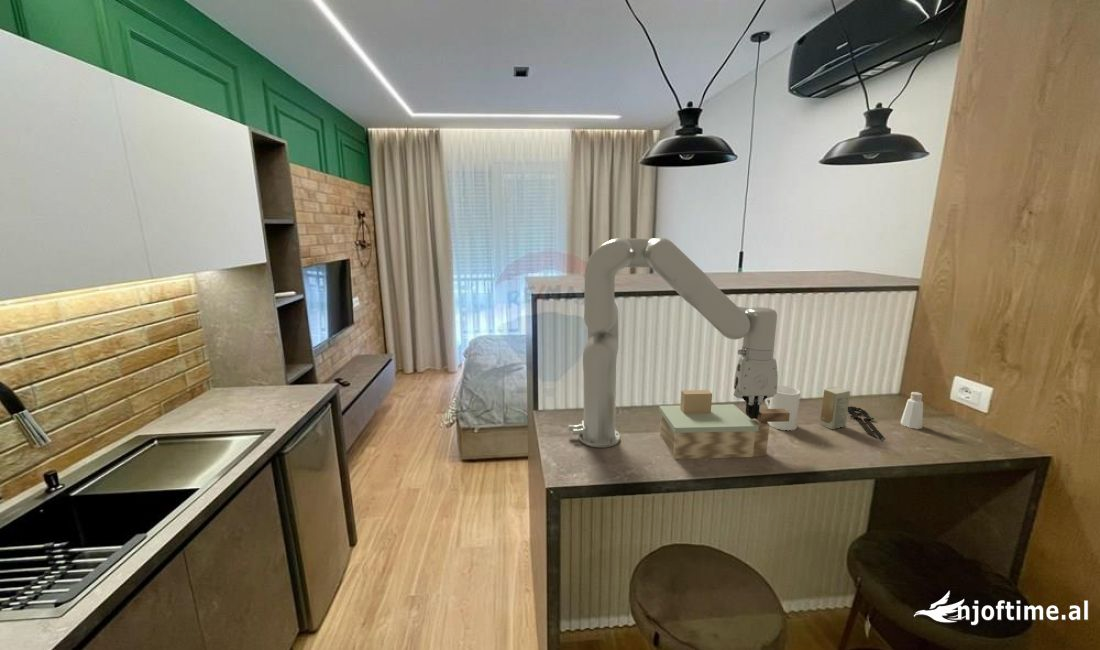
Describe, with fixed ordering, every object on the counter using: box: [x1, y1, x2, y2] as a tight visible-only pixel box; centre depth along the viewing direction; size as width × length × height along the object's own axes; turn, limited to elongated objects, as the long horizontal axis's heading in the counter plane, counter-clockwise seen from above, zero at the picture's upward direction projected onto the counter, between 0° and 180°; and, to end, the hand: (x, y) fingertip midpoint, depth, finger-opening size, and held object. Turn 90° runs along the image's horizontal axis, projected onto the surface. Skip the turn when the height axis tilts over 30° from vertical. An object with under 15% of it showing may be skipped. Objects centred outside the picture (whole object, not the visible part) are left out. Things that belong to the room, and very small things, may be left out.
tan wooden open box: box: [659, 413, 770, 460], centre depth 121 cm, size 26×14×10 cm, turn 92°
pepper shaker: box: [900, 391, 924, 430], centre depth 133 cm, size 5×5×11 cm
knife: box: [847, 405, 886, 442], centre depth 136 cm, size 25×6×1 cm, turn 155°
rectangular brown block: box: [757, 408, 790, 422], centre depth 117 cm, size 8×3×2 cm, turn 92°
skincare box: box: [819, 386, 851, 430], centre depth 133 cm, size 6×4×12 cm
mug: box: [764, 385, 801, 432], centre depth 136 cm, size 12×8×12 cm
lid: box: [658, 389, 759, 433], centre depth 120 cm, size 23×15×8 cm, turn 92°
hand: (751, 416), depth 116 cm, fingers closed
